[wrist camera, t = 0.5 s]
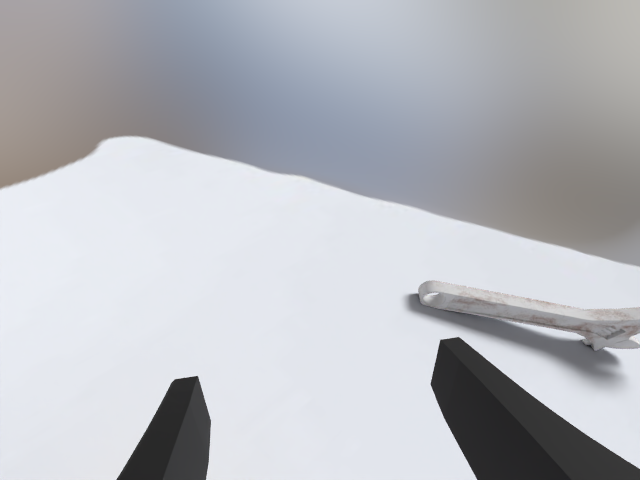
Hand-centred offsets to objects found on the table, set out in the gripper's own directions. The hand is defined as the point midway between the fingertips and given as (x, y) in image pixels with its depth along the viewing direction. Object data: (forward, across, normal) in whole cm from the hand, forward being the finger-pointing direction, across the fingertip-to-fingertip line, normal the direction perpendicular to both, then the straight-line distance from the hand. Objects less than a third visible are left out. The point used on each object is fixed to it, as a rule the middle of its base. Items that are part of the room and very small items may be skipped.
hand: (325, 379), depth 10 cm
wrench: (+20, -28, +22) cm, 41 cm away
